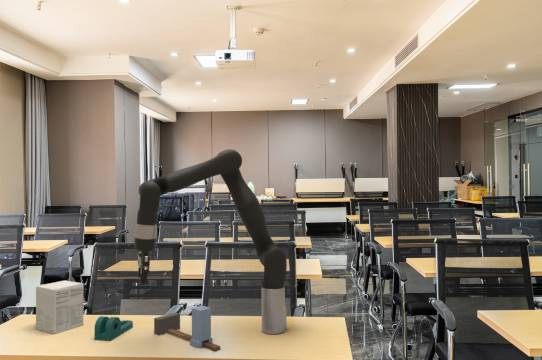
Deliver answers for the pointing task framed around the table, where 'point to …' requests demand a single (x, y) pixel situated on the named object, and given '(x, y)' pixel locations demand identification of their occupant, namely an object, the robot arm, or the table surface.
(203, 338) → the block
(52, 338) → the table surface
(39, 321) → the supplement box
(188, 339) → the rail
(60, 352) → the table surface
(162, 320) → the stop block
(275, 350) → the table surface
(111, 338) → the bracket
